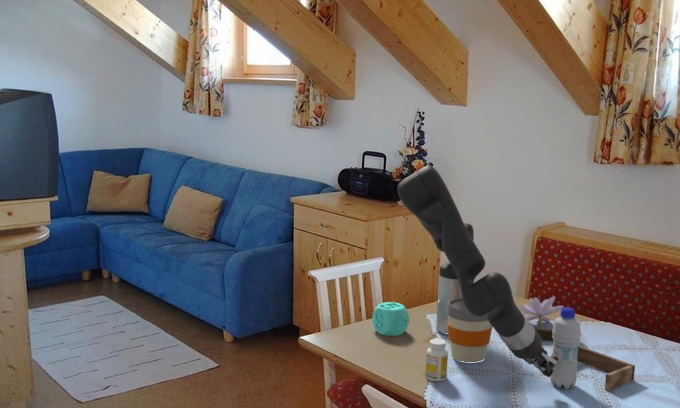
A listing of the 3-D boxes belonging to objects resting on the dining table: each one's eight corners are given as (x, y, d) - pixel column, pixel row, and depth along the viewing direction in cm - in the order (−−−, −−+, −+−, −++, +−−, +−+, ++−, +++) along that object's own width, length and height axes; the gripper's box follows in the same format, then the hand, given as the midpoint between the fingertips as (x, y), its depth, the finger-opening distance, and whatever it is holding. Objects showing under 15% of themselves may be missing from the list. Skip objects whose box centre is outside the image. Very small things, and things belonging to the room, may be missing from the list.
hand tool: (577, 341, 205) (578, 326, 204) (579, 346, 201) (580, 330, 200) (511, 336, 208) (512, 321, 208) (512, 340, 205) (512, 325, 204)
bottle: (544, 379, 177) (549, 304, 173) (570, 379, 177) (575, 303, 174) (554, 391, 170) (560, 312, 167) (581, 390, 171) (587, 312, 167)
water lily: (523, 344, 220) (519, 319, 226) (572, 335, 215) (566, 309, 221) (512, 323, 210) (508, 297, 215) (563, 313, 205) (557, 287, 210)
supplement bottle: (427, 382, 174) (429, 345, 173) (423, 373, 180) (424, 337, 178) (449, 381, 175) (450, 345, 173) (443, 372, 180) (445, 337, 179)
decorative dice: (409, 333, 209) (409, 307, 208) (388, 338, 204) (388, 311, 203) (392, 325, 215) (393, 300, 214) (371, 330, 211) (372, 304, 210)
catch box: (608, 391, 171) (609, 375, 170) (550, 368, 184) (551, 353, 184) (633, 380, 177) (635, 365, 177) (576, 358, 191) (577, 345, 190)
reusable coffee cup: (462, 345, 200) (465, 294, 197) (500, 357, 191) (503, 305, 188) (435, 356, 191) (437, 303, 188) (473, 370, 182) (476, 315, 180)
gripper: (488, 339, 164) (519, 376, 174) (534, 357, 154) (564, 396, 163) (504, 314, 167) (534, 352, 176) (550, 329, 156) (580, 369, 165)
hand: (549, 373), depth 169 cm, fingers closed
